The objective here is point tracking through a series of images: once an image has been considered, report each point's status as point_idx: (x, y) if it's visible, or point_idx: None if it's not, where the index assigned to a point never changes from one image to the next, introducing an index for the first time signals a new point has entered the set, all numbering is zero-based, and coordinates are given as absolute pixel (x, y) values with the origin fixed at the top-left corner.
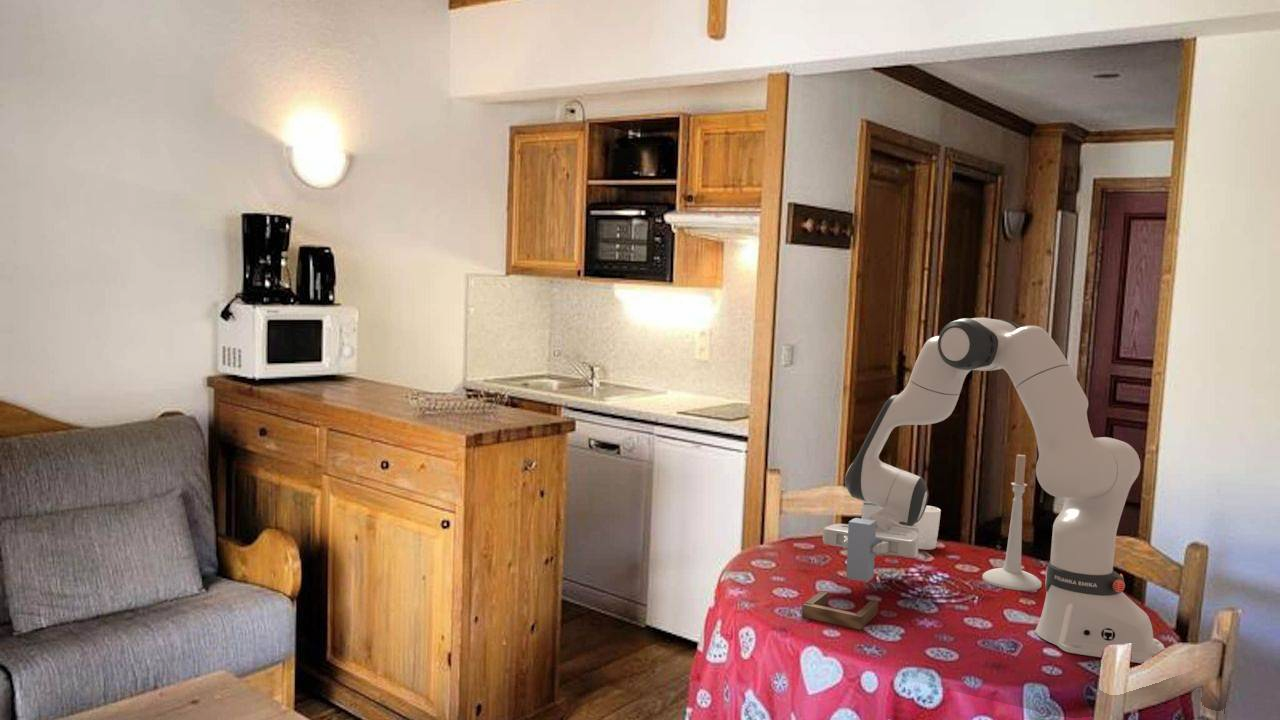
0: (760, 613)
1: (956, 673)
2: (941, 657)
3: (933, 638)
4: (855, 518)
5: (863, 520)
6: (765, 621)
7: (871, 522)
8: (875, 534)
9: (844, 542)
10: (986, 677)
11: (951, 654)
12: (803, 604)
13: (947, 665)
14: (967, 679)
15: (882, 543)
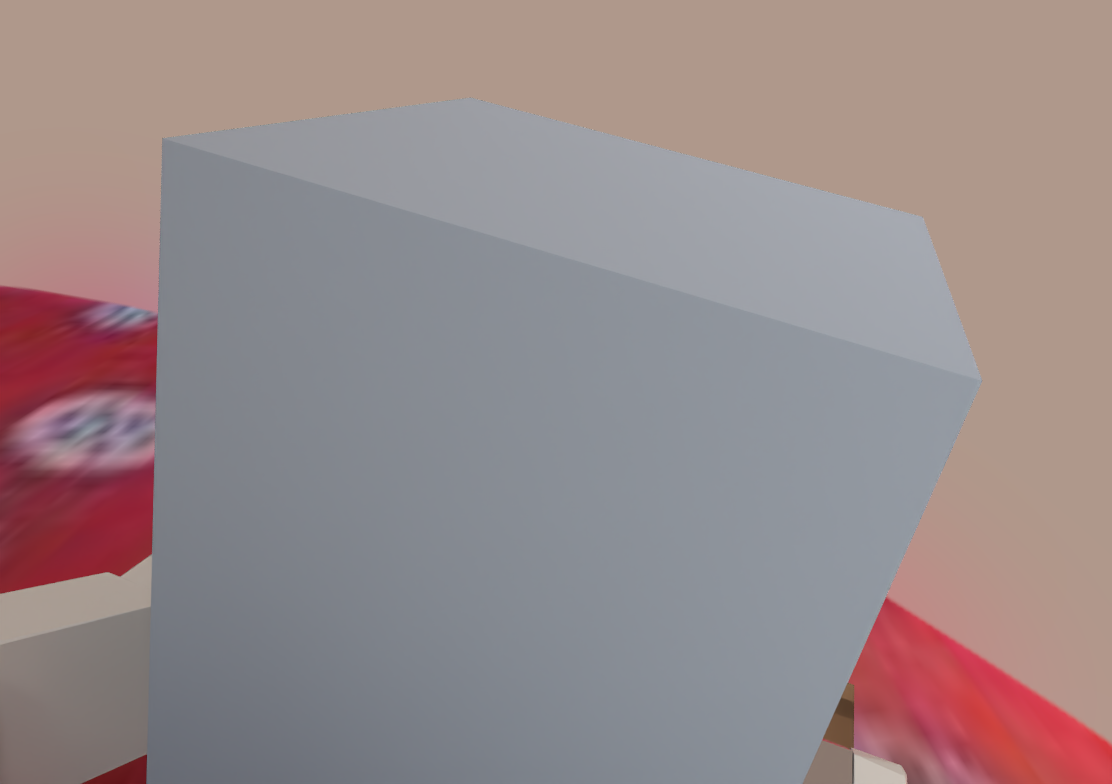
0: (1074, 770)
1: (154, 338)
2: (133, 407)
3: (22, 543)
4: (919, 323)
5: (609, 201)
6: (972, 666)
7: (399, 122)
8: (161, 552)
9: (862, 755)
10: (50, 319)
11: (58, 422)
12: (850, 687)
13: (151, 370)
14: (139, 317)
15: (31, 600)
